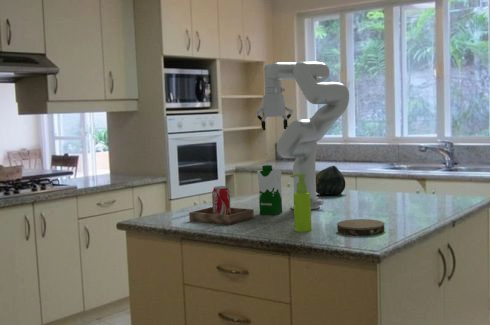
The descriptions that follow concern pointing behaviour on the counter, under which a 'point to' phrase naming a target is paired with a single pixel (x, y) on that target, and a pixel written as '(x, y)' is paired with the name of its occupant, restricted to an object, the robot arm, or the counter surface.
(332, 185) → the squash
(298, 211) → the soap dispenser
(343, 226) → the brown round disc
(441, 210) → the counter surface
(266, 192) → the milk carton
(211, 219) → the walnut tray
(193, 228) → the counter surface
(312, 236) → the counter surface
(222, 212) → the soda can
